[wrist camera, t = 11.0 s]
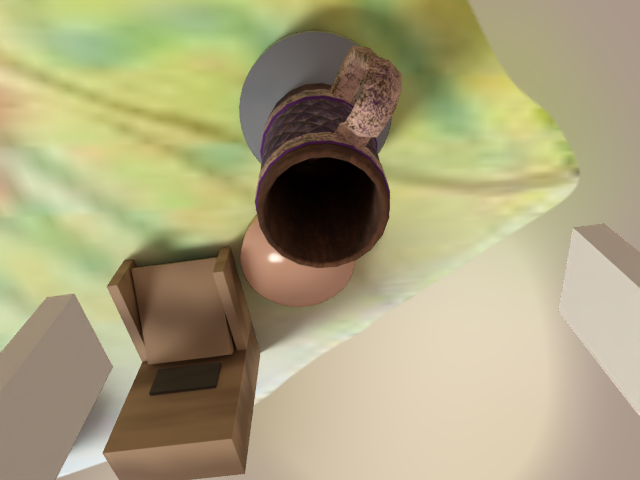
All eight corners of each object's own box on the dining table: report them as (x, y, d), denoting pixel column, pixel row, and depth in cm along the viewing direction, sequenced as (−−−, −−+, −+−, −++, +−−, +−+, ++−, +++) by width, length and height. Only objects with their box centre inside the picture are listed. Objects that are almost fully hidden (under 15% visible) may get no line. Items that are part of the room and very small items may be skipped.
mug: (341, 199, 32) (357, 302, 22) (249, 160, 30) (219, 251, 20) (415, 64, 27) (480, 111, 17) (311, 8, 26) (315, 24, 15)
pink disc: (232, 206, 34) (228, 218, 32) (346, 191, 34) (349, 202, 32) (256, 298, 39) (253, 312, 37) (357, 285, 38) (360, 299, 37)
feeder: (123, 260, 36) (50, 370, 26) (230, 246, 36) (198, 352, 26) (168, 364, 42) (123, 486, 32) (260, 353, 42) (244, 473, 32)
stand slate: (227, 42, 28) (222, 46, 27) (382, 18, 28) (387, 20, 26) (259, 184, 33) (257, 195, 32) (391, 166, 33) (395, 176, 31)
